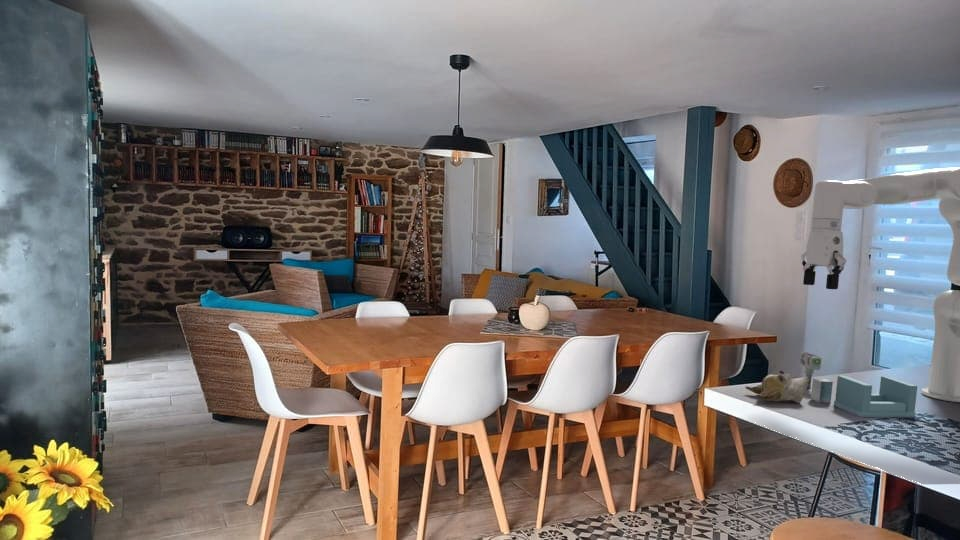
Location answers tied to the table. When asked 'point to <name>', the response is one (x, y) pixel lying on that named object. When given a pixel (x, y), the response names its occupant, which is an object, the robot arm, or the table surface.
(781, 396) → the ceramic sculpture
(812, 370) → the mechanical component
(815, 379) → the brushed grey metal block
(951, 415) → the table surface
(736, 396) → the table surface
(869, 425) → the table surface
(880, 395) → the teal open frame
